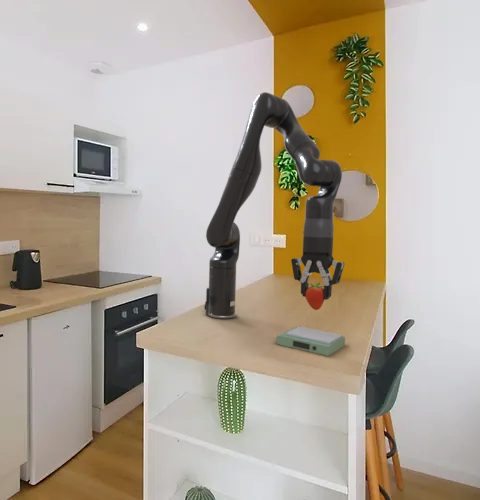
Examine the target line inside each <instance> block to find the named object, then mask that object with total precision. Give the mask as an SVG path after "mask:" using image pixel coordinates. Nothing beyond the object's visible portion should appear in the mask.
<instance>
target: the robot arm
mask: <svg viewBox="0 0 480 500" xmlns="http://www.w3.org/2000/svg"><path fill="white" fill-rule="evenodd" d="M265 127H267V128H270V129H274V130H276V131H277V132H278V133H279V134H281V136H282V137H283V145H284V149H285V150H286V152H287V154H288V156H289V157H290V158H291V159H292V161H293V162H294V164H295V166H296V171H297V174H298V177H299V180H300V181H301V182H302V183H303V184H304V185H306V186H308V187H316V188H317V187H318V188H319V189H318V192H317V194H316V195H311V196H308V197H307V199H305V208H304V209H305V210H304V211H305V212H304V223H303V230H302V235H303V236H302V255H301V257H295V258H292V259H291V267H292V273H293V274H292V275H293V279H294V280H295V281H299V282H300V294H301V295H302V297H303V298H306V296H305V293H306V291H307V289H308V288H309V287H310V283H309V282H308V281H309V279H310V277H311V276H312V274H313V273H315V274H320V277H321V278H322V281H323V284H324V285H323V286H324V287H323V289H324V297H323V299H324V301H327V300H329V299H330V298H331V297H332V289H333V285H337V284H339V283H340V282H341V279H342V275H343V271H344V268H345V262H344V261H338V260H335V259H334V257H333V254H334V253H333V250H334V233H335V231H334V230H335V229H334V228H335V226H334V208H335V207H334V204H335V201H336V197H337V195H338V191H339V188H340V186H341V183H342V178H343V171H342V170H343V169H342V167H341V165H340V164H339V162H337V161H336V160H333V159H332V160H331V159H320V157H321V151H320V149H319V147H318V146H317V144H316V143H315V142H314V140H312V138H311V137H310V136H309V135H308V134H307V133H306V131H305V130H304V128H303V127H302V126H301V124H300V122H299V120H298V119H297V117H296V114H295V112H294V110H293V108H292V106H291V105H290V103H289V101H287V100H286V99H284V98H282V97H280V96H276V95H275V94H272V93H270V92H267V91H266V92H261V93H259V94H258V96H257V97H256V98H255V99H254V101H253V104H252V106H251V108H250V112H249V115H248V118H247V122H246V125H245V129H244V133H243V136H242V139H241V142H240V146H239V148H238V151H237V154H236V157H235V159H234V162H233V164H232V166H231V170H230V172H229V175H228V178H227V181H226V183H225V186H224V189H223V192H222V194H221V197H220V200H219V202H218V204H217V207H216V209H215V212H214V214H213V215H212V217H211V219H210V222H209V224H208V226H207V228H206V233H205V239H206V241H207V244H208V245H209V246H210V247H212V248H214V252H213V255H212V256H211V257H210V259H209V263H208V264H209V266H208V267H209V268H208V269H209V271H208V287H206V290H205V291H206V292H205V293H206V294H205V295H206V296H205V302H204V310H205V315H206V316H208V317H211V318H214V319H219V320H220V319H222V320H223V319H225V320H227V319H233V318H235V317H236V290H237V288H236V287H237V263H238V260H239V256H240V247H241V245H240V244H241V232H240V228H239V226H238V225H237V224H236V222H235V219H236V218H237V217H236V216H238V215H237V214H238V212H239V211H240V210H241V208H242V207H243V205H244V204H245V203H246V201H247V200H248V199H249V198H250V196H251V195H252V194H253V192H254V190H255V188H256V185H257V184H258V180H259V178H260V175H261V172H262V169H263V167H262V155H261V138H262V134H263V132H264V128H265ZM301 265H303V266H304V269H303V271H302V268H301ZM331 267H333V269H334V271H333V275H332V274H331V271H330V268H331ZM307 284H308V285H307Z"/></svg>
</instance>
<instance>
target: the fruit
mask: <svg viewBox="0 0 480 500" xmlns="http://www.w3.org/2000/svg"><path fill="white" fill-rule="evenodd" d="M307 285H308V284H307ZM324 286H325V285H321V282H318V283H315V284H313V283H309V287H308V289H307V291H306V293H305V296H306V297H305V300H306V301H307V304H308V305H309V306H310V308H312V309H313V310H314V311H319V310H320V309H321V308H322V306H323V304H324V302H325V299H323V297H324Z"/></svg>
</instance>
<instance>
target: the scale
mask: <svg viewBox="0 0 480 500" xmlns="http://www.w3.org/2000/svg"><path fill="white" fill-rule="evenodd" d="M276 344H277V345H280V346H282V347H283V346H284V347H288V348H291V349H296V350H301V351H304V352H309V353H314V354H317V355H321V356H326V357H329V356H330V355H332V354H334V353H335V352H337V351H339V350H340V349H341V348H343V347H344V346H345V345H346V336H344V335H343V334H339V333H334V332H329V331H324V330H319V329H314V328H309V327H304V326H295V327H292V328H291V329H288V330H286V331H283V332H281V333H279V334H277V335H276Z"/></svg>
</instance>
